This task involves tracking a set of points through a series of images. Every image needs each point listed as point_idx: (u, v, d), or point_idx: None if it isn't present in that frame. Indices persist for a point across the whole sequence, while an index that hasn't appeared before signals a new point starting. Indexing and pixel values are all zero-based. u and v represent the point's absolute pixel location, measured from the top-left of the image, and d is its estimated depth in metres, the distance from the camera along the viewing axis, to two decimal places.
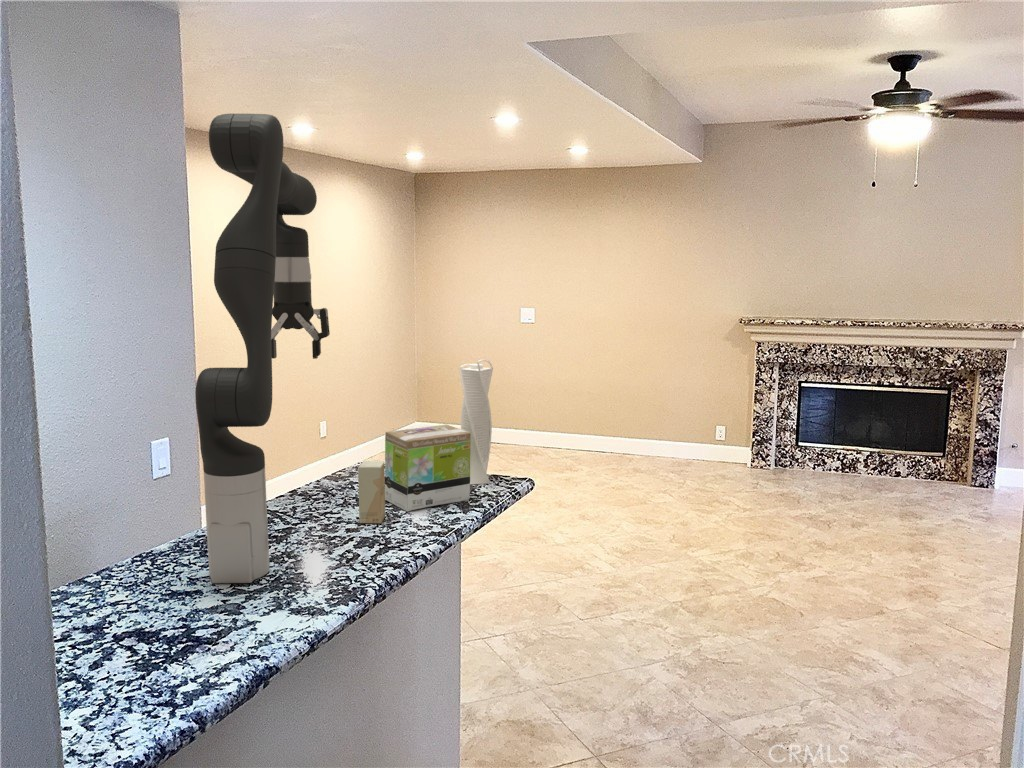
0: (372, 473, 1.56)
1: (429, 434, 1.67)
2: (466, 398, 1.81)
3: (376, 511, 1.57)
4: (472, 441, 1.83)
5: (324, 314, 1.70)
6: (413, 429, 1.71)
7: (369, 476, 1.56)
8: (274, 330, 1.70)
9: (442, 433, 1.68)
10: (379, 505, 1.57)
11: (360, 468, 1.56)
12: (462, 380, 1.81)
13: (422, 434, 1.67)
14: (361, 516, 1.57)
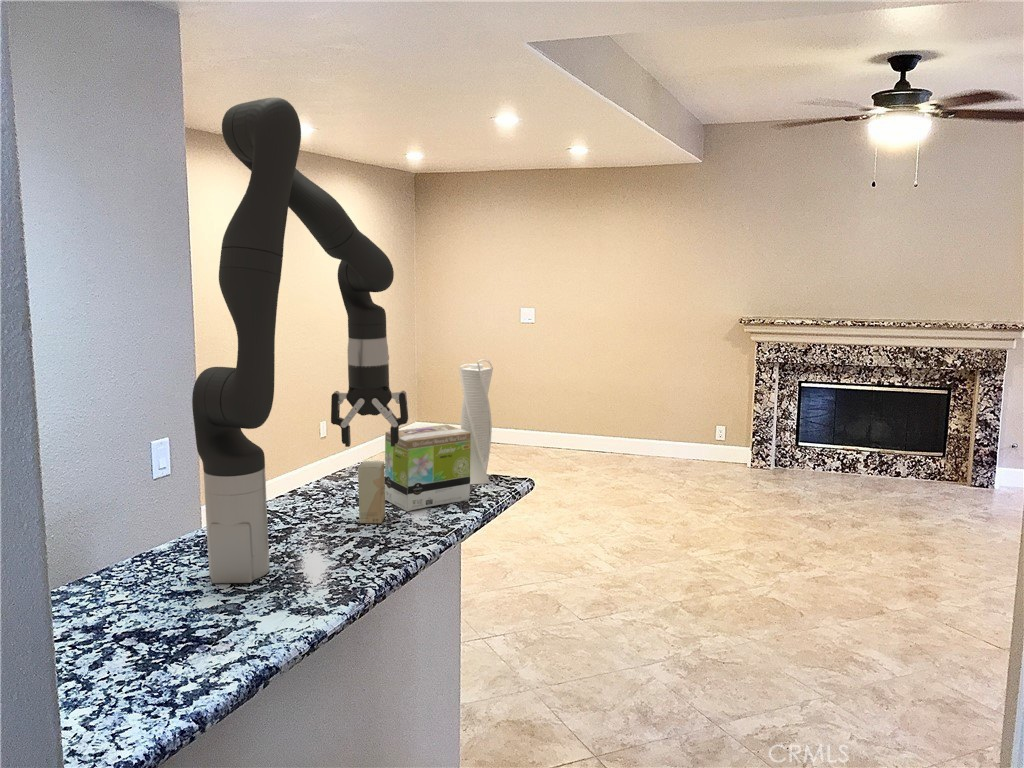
0: (372, 473, 1.56)
1: (429, 434, 1.67)
2: (466, 398, 1.81)
3: (376, 511, 1.57)
4: (472, 441, 1.83)
5: (404, 399, 1.55)
6: (413, 429, 1.71)
7: (369, 476, 1.56)
8: (349, 416, 1.55)
9: (442, 433, 1.68)
10: (379, 505, 1.57)
11: (360, 468, 1.56)
12: (462, 380, 1.81)
13: (422, 434, 1.67)
14: (361, 516, 1.57)
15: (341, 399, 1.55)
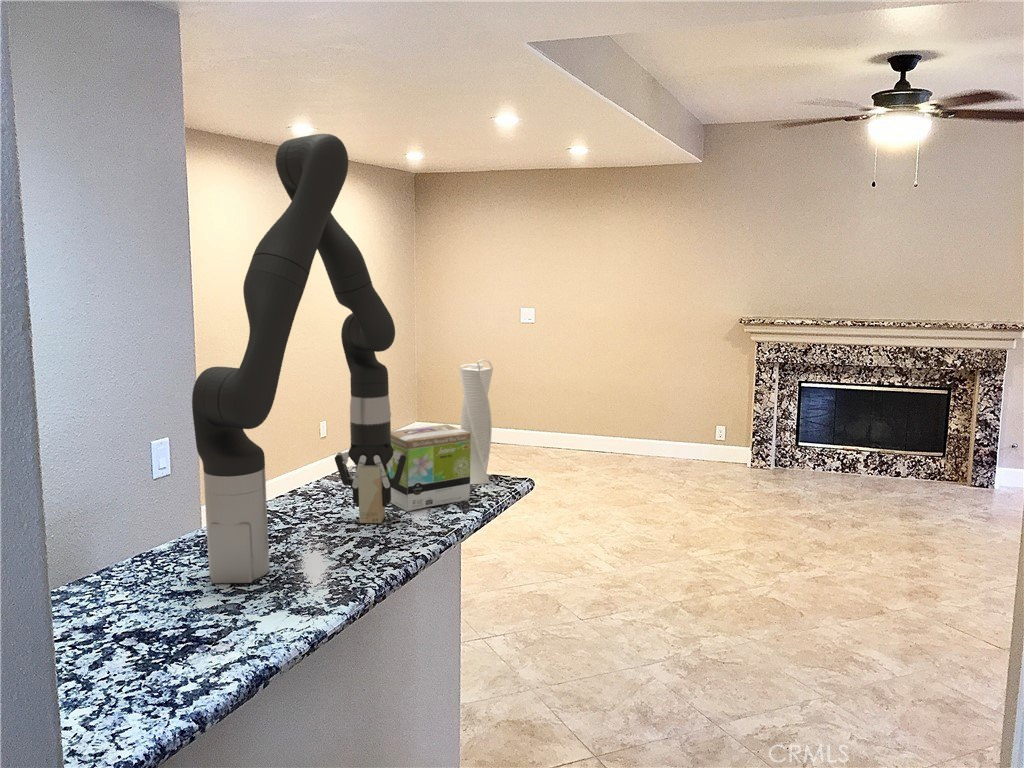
0: (372, 473, 1.56)
1: (429, 434, 1.67)
2: (466, 398, 1.81)
3: (376, 511, 1.57)
4: (472, 441, 1.83)
5: (403, 462, 1.57)
6: (413, 429, 1.71)
7: (369, 476, 1.56)
8: (357, 476, 1.57)
9: (442, 433, 1.68)
10: (379, 505, 1.57)
11: (360, 468, 1.56)
12: (462, 380, 1.81)
13: (422, 434, 1.67)
14: (361, 516, 1.57)
15: (345, 459, 1.57)
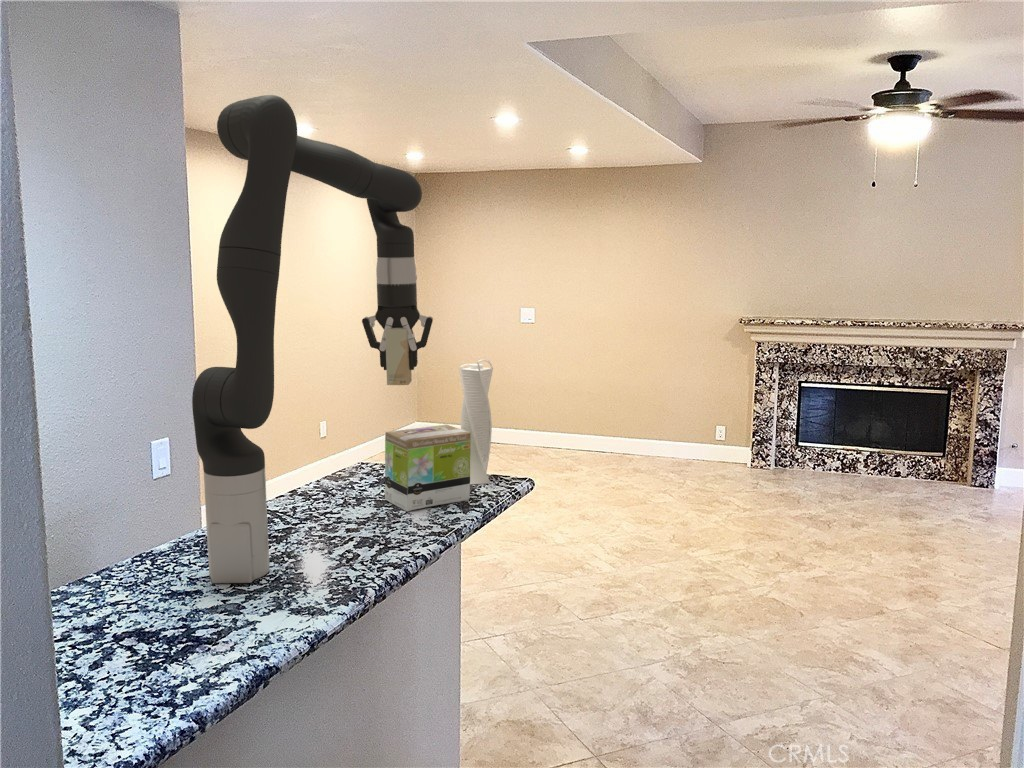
0: (399, 335, 1.58)
1: (429, 434, 1.67)
2: (466, 398, 1.81)
3: (403, 373, 1.59)
4: (472, 441, 1.83)
5: (430, 324, 1.59)
6: (413, 429, 1.71)
7: (396, 338, 1.58)
8: (384, 338, 1.59)
9: (442, 433, 1.68)
10: (406, 367, 1.59)
11: (387, 330, 1.58)
12: (462, 380, 1.81)
13: (422, 434, 1.67)
14: (388, 378, 1.59)
15: (372, 322, 1.59)
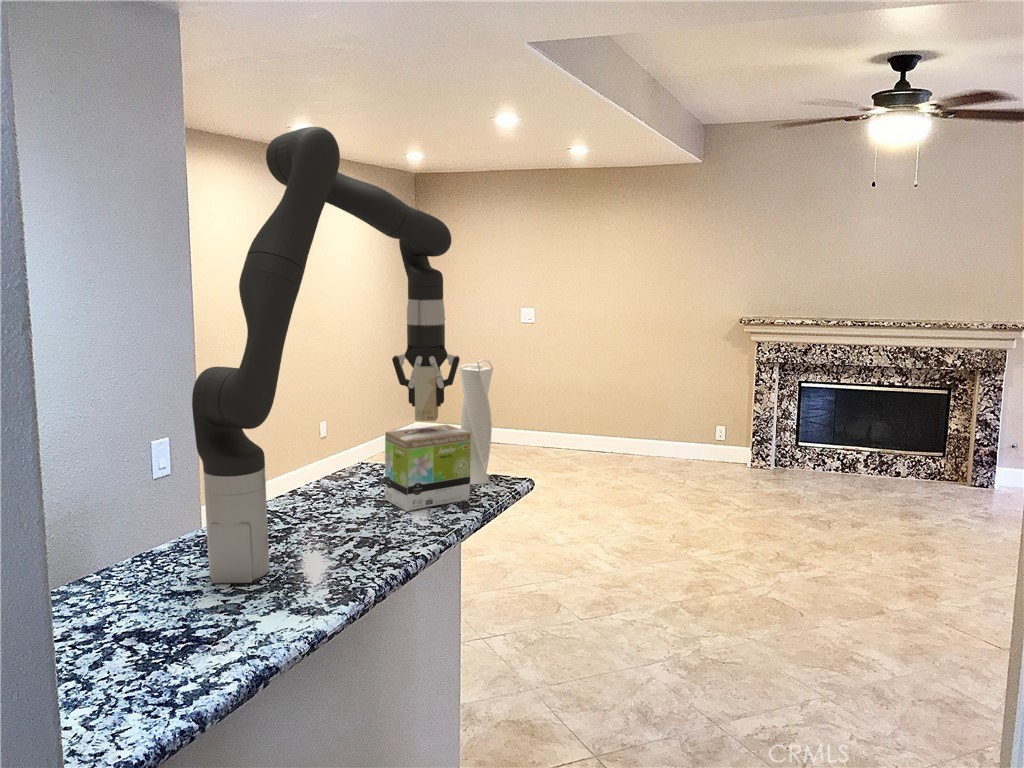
0: (428, 373, 1.65)
1: (429, 434, 1.67)
2: (466, 398, 1.81)
3: (431, 410, 1.66)
4: (472, 441, 1.83)
5: (457, 363, 1.66)
6: (413, 429, 1.71)
7: (425, 376, 1.65)
8: (413, 376, 1.66)
9: (442, 433, 1.68)
10: (434, 403, 1.66)
11: (416, 368, 1.65)
12: (462, 380, 1.81)
13: (422, 434, 1.67)
14: (416, 414, 1.67)
15: (401, 360, 1.67)
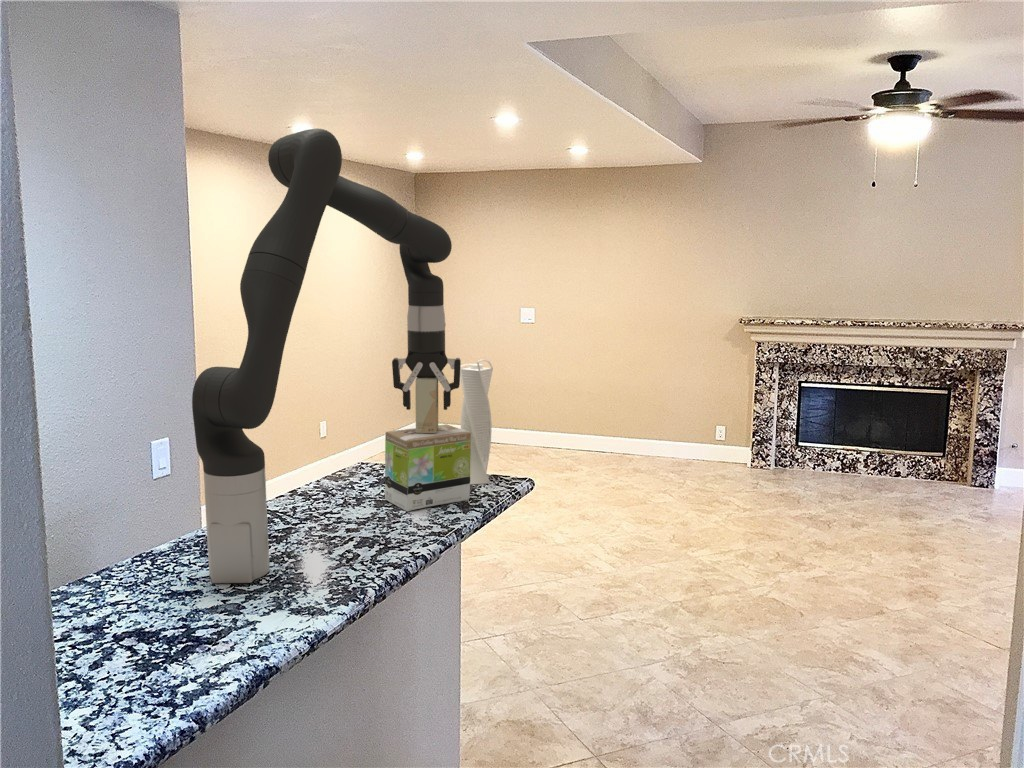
0: (429, 385, 1.66)
1: (429, 433, 1.67)
2: (466, 398, 1.81)
3: (431, 422, 1.67)
4: (472, 441, 1.83)
5: (458, 365, 1.67)
6: (413, 429, 1.71)
7: (426, 388, 1.66)
8: (410, 380, 1.66)
9: (442, 433, 1.68)
10: (435, 416, 1.67)
11: (417, 380, 1.66)
12: (462, 380, 1.81)
13: (422, 434, 1.67)
14: (417, 426, 1.67)
15: (401, 364, 1.67)
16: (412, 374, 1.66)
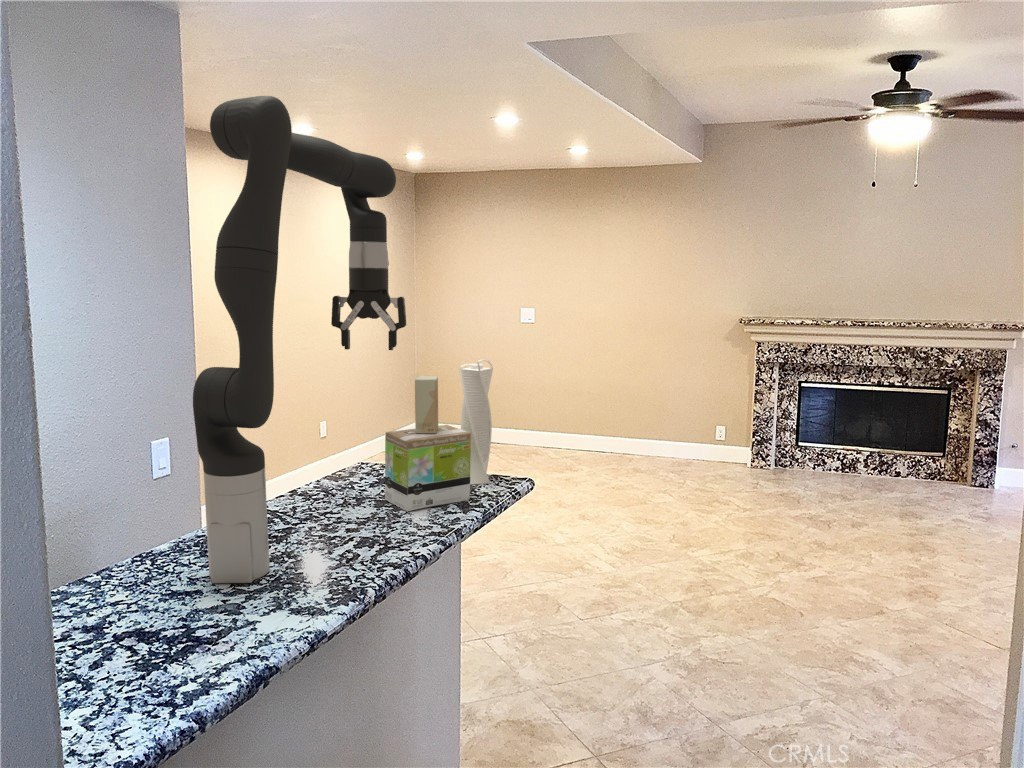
0: (428, 385, 1.66)
1: (429, 434, 1.67)
2: (466, 398, 1.81)
3: (431, 422, 1.67)
4: (472, 441, 1.83)
5: (402, 303, 1.61)
6: (413, 429, 1.71)
7: (425, 388, 1.66)
8: (349, 319, 1.60)
9: (442, 433, 1.68)
10: (434, 416, 1.67)
11: (417, 380, 1.66)
12: (462, 380, 1.81)
13: (422, 434, 1.67)
14: (417, 426, 1.67)
15: (342, 302, 1.61)
16: (352, 312, 1.60)
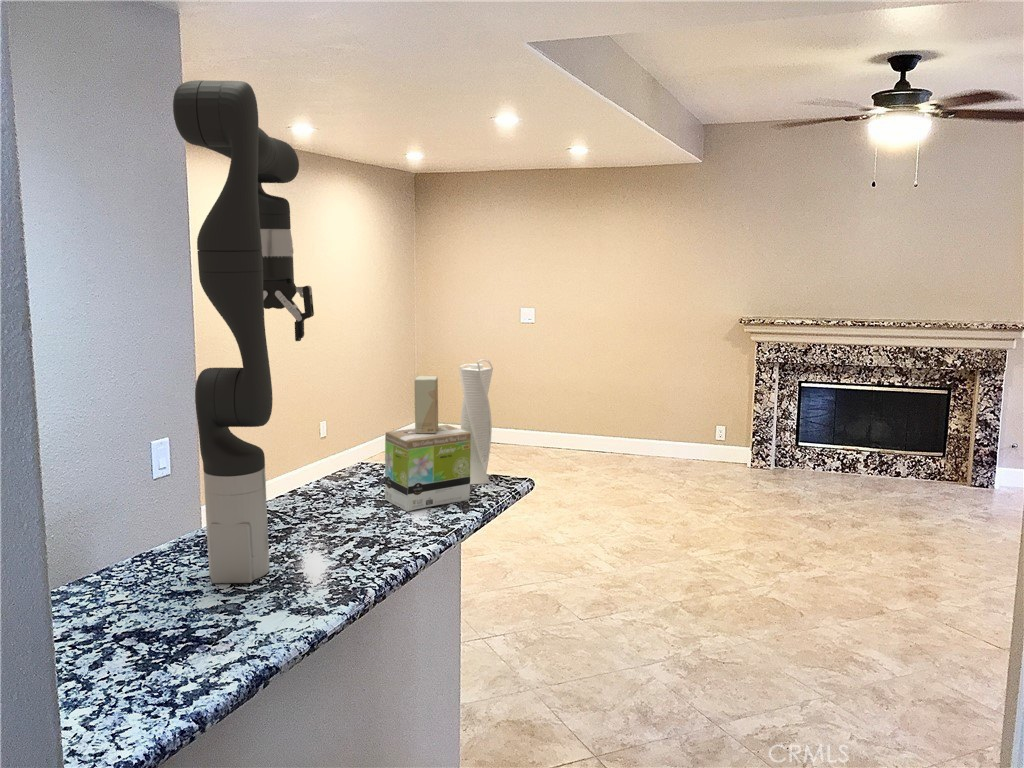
0: (427, 385, 1.66)
1: (429, 434, 1.67)
2: (466, 398, 1.81)
3: (431, 422, 1.67)
4: (472, 441, 1.83)
5: (307, 292, 1.55)
6: (413, 429, 1.71)
7: (425, 388, 1.66)
8: None
9: (442, 433, 1.68)
10: (434, 416, 1.67)
11: (416, 380, 1.66)
12: (462, 380, 1.81)
13: (422, 434, 1.67)
14: (416, 426, 1.67)
15: None
16: None
